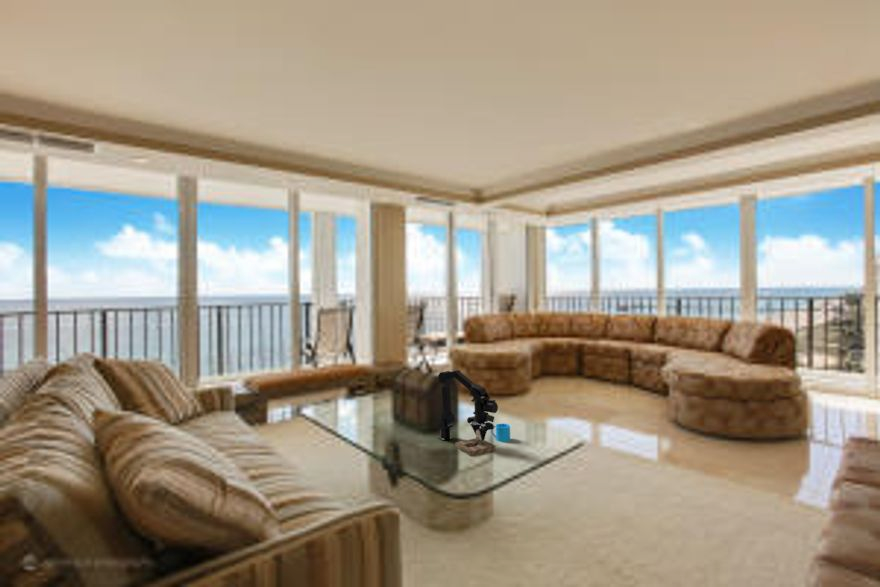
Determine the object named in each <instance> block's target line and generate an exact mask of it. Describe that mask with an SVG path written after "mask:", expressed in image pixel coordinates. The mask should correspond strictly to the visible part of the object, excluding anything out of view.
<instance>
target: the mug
mask: <svg viewBox="0 0 880 587" xmlns="http://www.w3.org/2000/svg"><path fill="white" fill-rule="evenodd" d="M494 429H495V433H494ZM494 429H491V430H490V433H491V435H492V436H493V437H495V439H496V441H497V442H499V441H500V443H507V441H508V442H510V441H511V425H510V424H508V423H498V424H495V425H494Z"/></svg>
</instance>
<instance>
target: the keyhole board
mask: <svg viewBox="0 0 880 587" xmlns="http://www.w3.org/2000/svg"><path fill="white" fill-rule="evenodd" d="M454 445H455V448H456V447H457V449H458V450H460V451H461V452H463V453H464V454H466V455H467V456H470V457H472V456H477V455H481V454H486V453H489V452H495V451H496V449H497V448H496V445H495V444H493V443H491V442H489V441H488V440H486V439H484V440H483V444H480V445H478V440H477V439H476V437H475V438H471V439H467V440H466V439H465V440H461V441H457V442H455V443H454Z"/></svg>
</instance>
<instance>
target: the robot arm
mask: <svg viewBox="0 0 880 587" xmlns="http://www.w3.org/2000/svg"><path fill="white" fill-rule="evenodd" d="M437 378H438V382H439V385H440V387H441V400H442V401H441V403H442V411H441V415H440V418H439V422H438V423H437V424H436V428H437V429H436V430H439V432H440V435H439V437H441V438H444V439H449V440H451V439H450V437H451V431H450V430H451V428H453V425H454V424H455V421H456V414H455V413H453V411H452V406H451V405H452V404H451V403H452V401H451V385H452V383H453V379H455V380H456V381H457V382H459V383H460V385H462V386H463V387H465V388H466V389H467V390H468V391H469V393H470V395H471V396H472V397H473V398H472V399H471V400H470V402H472V403H474V411H472V413H473V415H474V416H469V417H467V419H466V422H467V423H468V424H469V425H470V426H471V428H472V430H473V431H474V434H475V435H476V430H478V429H479V431H480V435H481V438H482V440H485V439H486V435H487V432H488V431H491V429H493V430H494V429H495V428H494V426H495V425H494V424H493V423H494V421H495V416H493V415H491V414H489V413H492V414H496V413H497V412H498V409H499V406H498V402H496V399H491V397H490V396H489V394H488V392H487V389H486V388H485V387H484V386H482V385H480V384H477V383H474V382H473V381H472V380H471V379H470V378H468V377H467V376H466V375H465V374H464V373H462V372H461V370H459V369H455V370H452V371H450V370H447V371H446V370H445V371H441V372H440V373H438V377H437ZM484 438H485V439H484Z"/></svg>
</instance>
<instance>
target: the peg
mask: <svg viewBox="0 0 880 587" xmlns="http://www.w3.org/2000/svg"><path fill="white" fill-rule="evenodd" d="M475 436H476V437H475V438H476V439H477V440H478V445H480V444H483V440H482V438H481V435H480V431H479V429H478V430H476V434H475ZM484 440H486V437H485V438H484Z"/></svg>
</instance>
